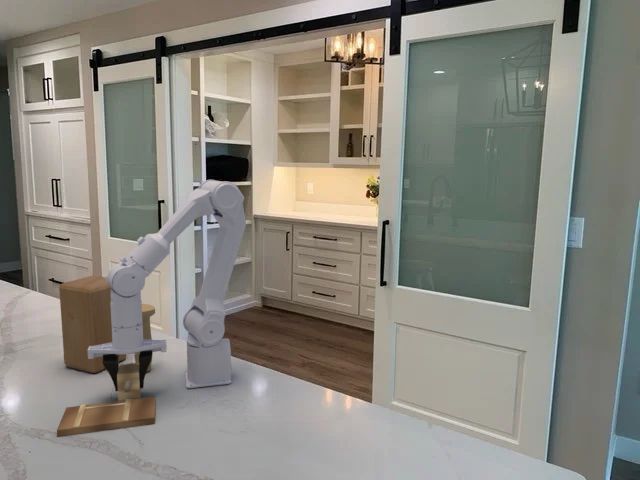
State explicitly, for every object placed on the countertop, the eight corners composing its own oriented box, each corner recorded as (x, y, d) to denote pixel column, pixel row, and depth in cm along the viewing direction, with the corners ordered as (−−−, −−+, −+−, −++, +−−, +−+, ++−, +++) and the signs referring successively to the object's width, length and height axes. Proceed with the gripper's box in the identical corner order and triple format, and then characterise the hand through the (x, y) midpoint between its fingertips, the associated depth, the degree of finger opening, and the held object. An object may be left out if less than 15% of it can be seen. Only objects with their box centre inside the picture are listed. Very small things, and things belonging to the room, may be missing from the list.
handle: (142, 378, 105) (140, 313, 102) (126, 369, 108) (123, 307, 106) (161, 370, 108) (159, 308, 106) (145, 363, 112) (143, 302, 110)
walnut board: (155, 402, 94) (155, 395, 94) (154, 423, 87) (154, 416, 87) (66, 413, 90) (66, 406, 89) (57, 436, 82) (56, 429, 82)
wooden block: (62, 367, 109) (56, 283, 106) (97, 351, 118) (93, 274, 115) (95, 375, 105) (90, 288, 102) (128, 358, 115) (124, 278, 111)
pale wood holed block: (141, 389, 99) (140, 362, 98) (139, 407, 92) (138, 378, 91) (120, 391, 98) (119, 364, 97) (117, 409, 91) (115, 380, 90)
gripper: (165, 314, 99) (167, 375, 102) (90, 319, 95) (93, 382, 97) (165, 325, 93) (167, 390, 95) (84, 331, 89) (88, 399, 91)
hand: (130, 387), depth 96 cm, fingers closed on pale wood holed block, 4 cm apart
